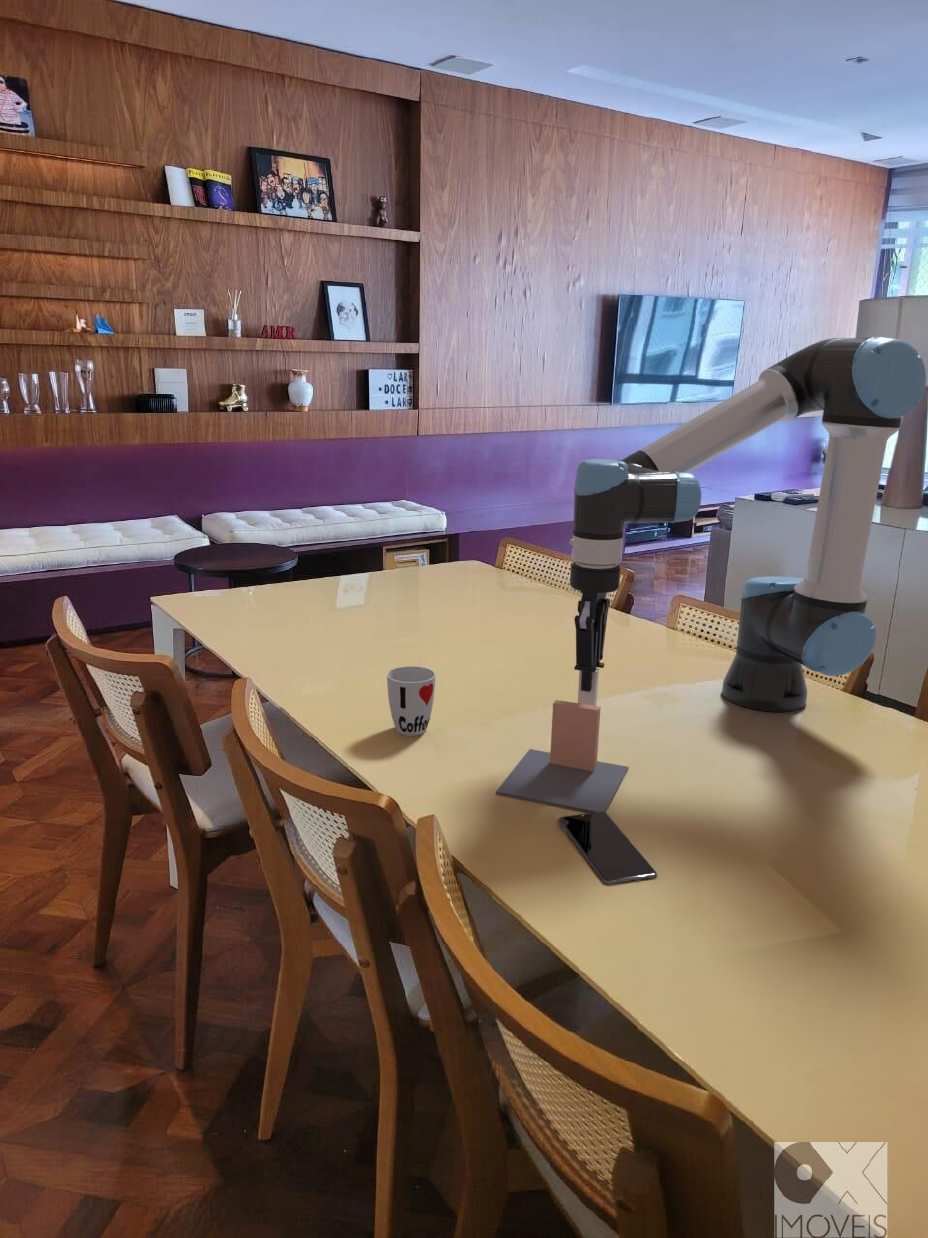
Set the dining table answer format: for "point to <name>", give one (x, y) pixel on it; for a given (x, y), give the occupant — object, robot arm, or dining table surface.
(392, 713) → the cup
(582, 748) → the slab
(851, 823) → the dining table surface
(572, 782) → the mat
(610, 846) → the smartphone
